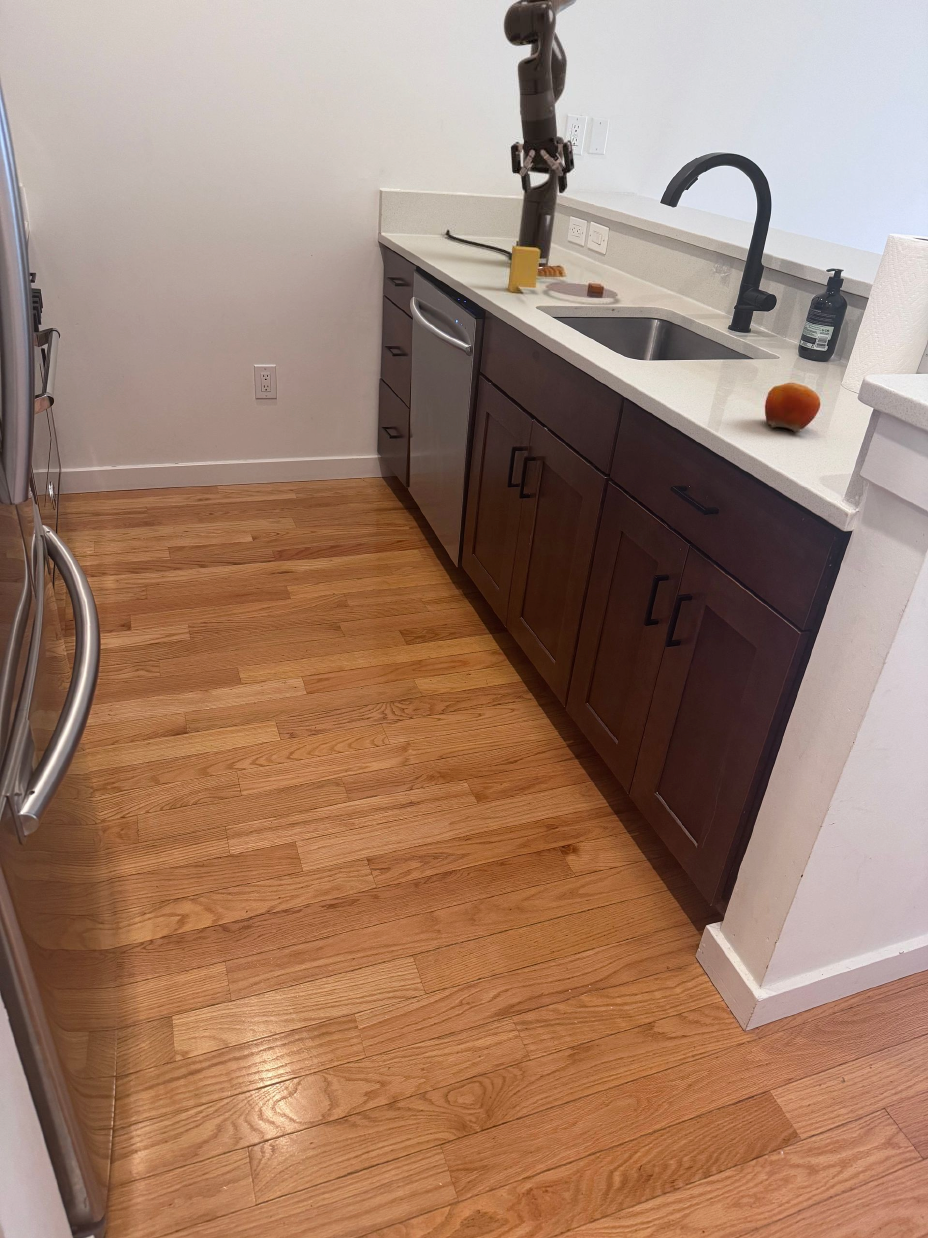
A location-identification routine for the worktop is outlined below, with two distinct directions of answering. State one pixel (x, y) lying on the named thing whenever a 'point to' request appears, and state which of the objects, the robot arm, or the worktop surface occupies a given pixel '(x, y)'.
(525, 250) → the sponge
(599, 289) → the orange slab
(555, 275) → the pastry
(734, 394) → the worktop surface
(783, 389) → the fruit
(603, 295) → the plate
